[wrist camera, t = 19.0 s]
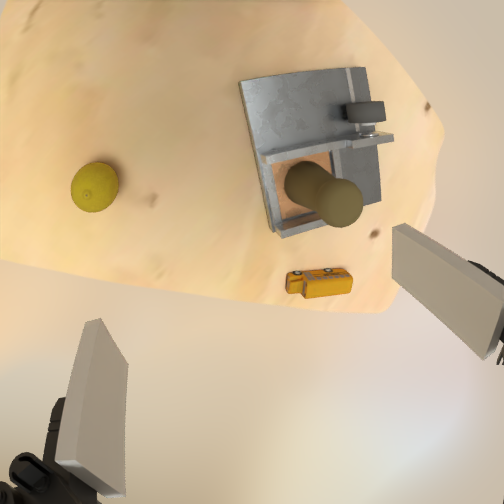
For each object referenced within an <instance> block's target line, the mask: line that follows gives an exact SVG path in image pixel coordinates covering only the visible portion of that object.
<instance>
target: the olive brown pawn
mask: <svg viewBox="0 0 504 504" xmlns="http://www.w3.org/2000/svg"><path fill="white" fill-rule="evenodd" d="M284 188H285V192H286V194H287V196H288V198H289V199H290V200H291V201H292V202H294V203H296V204H298V205H301V206H303V207H306V208H308V209H311V210H313V211H316V212H318V214H319V216H320V218H321V219H322V220H323V221H324V222H325V223H326V224H328V225H330V226H333V227H340V228H342V227H346V226H349V225H351V224H352V223H354V222H355V221H356V220H357V219H358V218H359V216H360V214H361V212H362V209H363V196H362V193H361V191H360V189H359V188H358V187H357V186H356V185H355V183H353V182H351V181H349V180H347V179H342V178H335V177H334V176H333V175H331V174H330V173H329V172H328V171H326V170H325V169H324V168H323V167H321V166H320V165H319V164H317V163H315V162H313V161H301V162H298V163H297V164H295V165H293V166H292V167H291V168H290V169H289V171H288V172H287V174H286V177H285V181H284Z"/></svg>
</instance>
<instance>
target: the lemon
mask: <svg viewBox="0 0 504 504" xmlns="http://www.w3.org/2000/svg"><path fill="white" fill-rule="evenodd" d="M118 187H119V183H118V178H117V175H116V173H115V172H114V170H113V169H112V168H111V167H110V166H108V165H106V164H104V163H99V162H95V163H90V164H87V165H85V166H84V167H82V168H81V169H80V170H79V171H78V172H77V173H76V175H75V176H74V178H73V181H72V184H71V196H72V199H73V201H74V203H75V204H76V205H77V206H78V207H79V208H80V209H81V210H83V211H86V212H99V211H102V210H104V209H105V208H107V207H108V206H109V205H110V204H111V203H112V202H113V201H114V199H115V198H116V195H117V193H118Z"/></svg>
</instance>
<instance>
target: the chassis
mask: <svg viewBox="0 0 504 504" xmlns="http://www.w3.org/2000/svg"><path fill="white" fill-rule="evenodd" d="M238 84H239V88H240V93H241V97H242V101H243V106H244V110H245V115H246V119H247V124H248V128H249V133H250V137H251V142H252V146H253V151H254V156H255V160H256V165H257V170H258V174H259V179H260V184H261V189H262V193H263V198H264V203H265V208H266V213H267V217H268V222H269V227H270V229H271V231H272V232H276V233H277V234H278V235H279V236H280V237H281V238H285V237H289V236H292V235H295V234H299V233H302V232H305V231H309V230H312V229H315V228H319V227H322V226H325V225H328V224H326V223H325V222H324V221H323V220H322V219H321V218H320V216H319V214H318V212H316V211H313V210H311V209H308V208H306V207H303V206H301V205H298V204H296V203H294V202H292V201H291V200H290V199H289V198H288V196H287V194H286V192H285V188H284V181H285V177H286V174H287V172H288V171H289V169H290V168H291V167H292V166H293V165H295V164H297V163H298V162H301V161H313V162H315V163H317V164H319V165H320V166H321V167H323V168H324V169H325V170H326V171H328V172H329V173H330V174H331V175H333V176H334V177H335V178H342V179H347V180H349V181H351V182H353V183H355V185H356V186H357V187H358V188H359V189H360V191H361V193H362V196H363V206H365V205H369V204H372V203H376V202H379V201H381V186H380V173H379V161H378V151H377V144H382V143H388V142H394V137H393V134H390V133H385V132H379V131H375V125H370V126H360V125H359V123H349V122H348V116H347V110H346V104H348V103H355V102H368V101H371V97H370V91H369V85H368V79H367V74H366V68H365V67H355V68H338V69H326V70H315V71H306V72H297V73H289V74H282V75H275V76H269V77H262V78H257V79H251V80H245V81H241V82H239V83H238Z"/></svg>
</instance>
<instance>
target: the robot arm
mask: <svg viewBox="0 0 504 504" xmlns="http://www.w3.org/2000/svg"><path fill="white" fill-rule="evenodd" d="M392 279H394V280H395V281H396V282H397V283H398V284H399V285H401V286H402V287H403V288H404V289H405V290H406V291H408V292H409V293H410V294H411V295H412V296H413V297H414V298H416V299H417V300H418V301H419V302H420V303H421V304H423V305H424V306H425V307H426V308H427V309H428V310H429V311H431V312H432V313H433V314H434V315H435V316H436V317H437V318H438V319H439V320H440V321H442V322H443V323H444V324H445V325H446V326H447V327H448V328H449V329H450V330H451V331H452V332H453V333H455V334H456V335H457V336H458V337H459V338H460V339H461V340H462V341H463V342H464V343H465V344H466V345H467V346H468V347H469V348H470V349H472V350H473V351H474V352H475V353H476V354H477V355H478V356H479V357H480V358H481V359H482V360H485V359H486V358H487V357H488V356H490V355H491V354H492V353H494V352H495V350H496V347H497V345H498V342H499V340H501V341H502V342H503V343H504V280H503V279H501V278H500V277H498V276H496V275H495V274H494V273H492V272H491V271H490V272H489V270H488V269H486V268H485V267H483V266H482V265H480V264H478V263H475V262H472V261H469V260H468V261H466V260H465V259H463V258H462V257H460V256H458V255H457V254H455V253H454V252H452V251H451V250H449V249H448V248H446V247H444V246H443V245H441V244H439V243H438V242H436V241H434V240H433V239H431V238H430V237H428V236H426V235H425V234H423V233H421V232H419V231H418V230H416V229H414V228H413V227H411V226H409V225H407V224H406V223H403V224H400V225H397V226H394V227H392ZM502 357H503V363H502V365H504V345H503V347H502V350H501V352H500V354H499V357H498V359H497V365H499V363H500V361H501V358H502ZM127 375H128V363H127V361H126V360H125V358H124V356H123V355H122V354H121V352H120V350H119V348H118V347H117V345H116V343H115V342H114V340H113V339H112V337H111V335H110V333H109V332H108V330H107V328H106V326H105V325H104V323H103V321H102V319H101V318H99V319H95V320H92V321H88V322H86V323H85V326H84V329H83V333H82V336H81V340H80V343H79V347H78V350H77V354H76V357H75V362H74V365H73V370H72V373H71V377H70V381H69V386H68V390H67V394H66V397H63V398H59V399H58V401H57V402H56V404H55V406H54V408H53V409H52V413H51V418H50V422H51V423H49V427H48V431H49V432H48V433H47V438H46V443H45V449H44V454H43V461H41V460H40V459H38V458H37V457H36V456H35V455H34V454H32V453H29V452H25V453H21V454H20V455H18V456H16V457H15V459H14V460H13V461H12V463H11V465H10V468H9V477H10V481H12V482H13V483H14V484H16V485H17V486H18V487H15V488H13V487H11V486H10V485H8V484H7V483H6V482H2V481H0V504H102V503H100V502H99V501H98V500H97V492H98V493H100V494H101V495H103V496H104V497H106V498H114V497H126V489H125V411H126V391H127ZM503 504H504V501H503Z"/></svg>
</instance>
